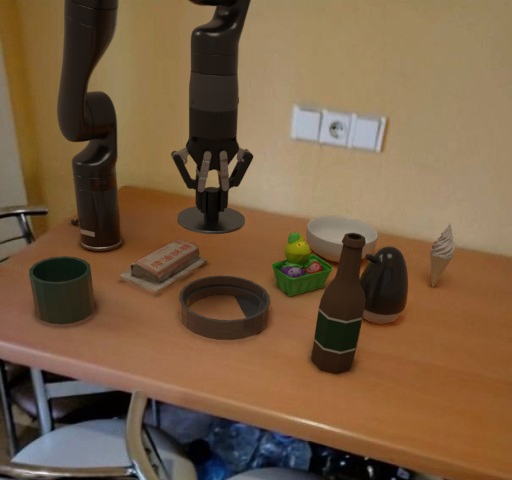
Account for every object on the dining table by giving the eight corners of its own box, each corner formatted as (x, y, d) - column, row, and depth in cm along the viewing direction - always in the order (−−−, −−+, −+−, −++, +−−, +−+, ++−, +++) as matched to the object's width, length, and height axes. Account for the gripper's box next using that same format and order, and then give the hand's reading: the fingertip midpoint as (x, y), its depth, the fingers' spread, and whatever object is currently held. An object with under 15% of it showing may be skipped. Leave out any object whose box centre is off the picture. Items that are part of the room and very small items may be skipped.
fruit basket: (288, 300, 116) (293, 251, 110) (265, 282, 122) (269, 233, 116) (331, 289, 121) (339, 241, 115) (307, 271, 127) (313, 225, 121)
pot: (36, 300, 110) (29, 258, 105) (92, 295, 113) (88, 254, 108) (36, 329, 101) (28, 286, 96) (97, 323, 104) (92, 280, 99)
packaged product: (172, 232, 128) (207, 244, 124) (172, 252, 131) (207, 264, 127) (117, 261, 115) (155, 275, 111) (119, 281, 118) (156, 296, 114)
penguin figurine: (341, 307, 115) (353, 239, 107) (384, 300, 119) (399, 233, 110) (366, 334, 107) (382, 262, 99) (412, 326, 111) (430, 256, 102)
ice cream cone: (445, 284, 127) (464, 222, 118) (442, 294, 123) (460, 230, 114) (423, 278, 128) (440, 216, 120) (419, 288, 124) (435, 224, 116)
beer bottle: (307, 348, 102) (325, 225, 89) (349, 348, 103) (373, 226, 90) (314, 374, 96) (334, 246, 82) (358, 375, 97) (386, 247, 83)
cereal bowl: (366, 278, 127) (372, 249, 123) (295, 263, 130) (298, 235, 126) (377, 249, 140) (383, 222, 136) (313, 236, 144) (316, 209, 140)
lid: (171, 212, 100) (171, 179, 96) (234, 209, 103) (236, 176, 100) (184, 240, 91) (184, 203, 87) (253, 235, 94) (255, 200, 91)
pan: (172, 299, 113) (171, 279, 111) (253, 291, 118) (254, 272, 116) (189, 347, 100) (189, 326, 97) (280, 336, 105) (282, 315, 102)
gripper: (250, 98, 91) (244, 201, 101) (164, 98, 87) (166, 204, 97) (264, 109, 85) (257, 217, 95) (172, 109, 81) (174, 221, 91)
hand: (211, 210), depth 96 cm, fingers closed on lid, 2 cm apart
